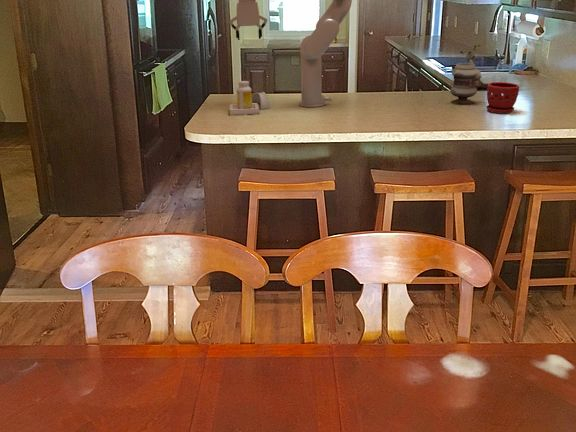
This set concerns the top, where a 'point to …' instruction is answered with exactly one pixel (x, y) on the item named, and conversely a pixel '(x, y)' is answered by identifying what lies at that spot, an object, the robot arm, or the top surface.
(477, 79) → the potted plant
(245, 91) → the supplement bottle
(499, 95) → the plant pot
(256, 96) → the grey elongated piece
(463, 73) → the apothecary jar
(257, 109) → the ceramic tray
